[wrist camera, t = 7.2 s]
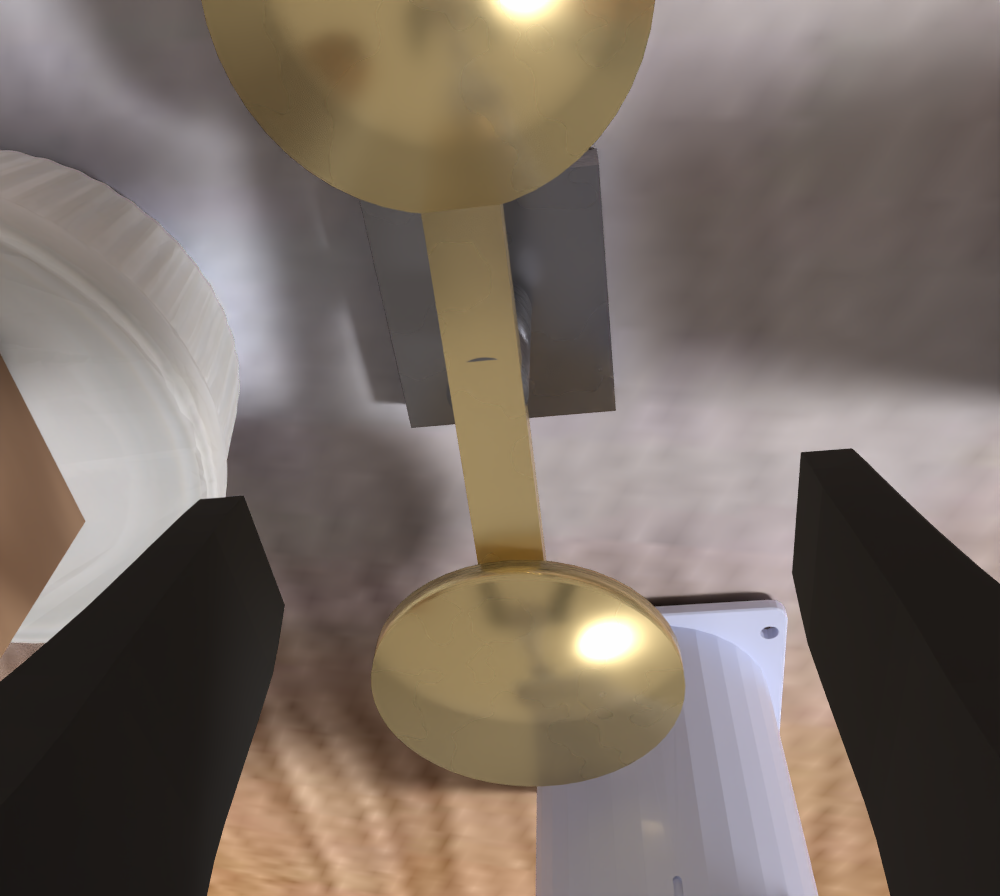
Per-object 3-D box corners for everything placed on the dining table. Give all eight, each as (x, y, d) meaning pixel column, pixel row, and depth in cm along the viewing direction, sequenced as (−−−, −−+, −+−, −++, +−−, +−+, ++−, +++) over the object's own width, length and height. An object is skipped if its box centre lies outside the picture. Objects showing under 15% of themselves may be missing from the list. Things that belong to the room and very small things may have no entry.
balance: (662, 599, 27) (687, 780, 22) (428, 614, 28) (403, 791, 23) (626, -317, 15) (662, -361, 10) (214, -246, 16) (65, -256, 11)
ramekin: (21, -15, 18) (-139, 49, 14) (369, 391, 24) (330, 527, 19) (-282, 265, 22) (-480, 381, 18) (74, 559, 28) (-13, 702, 23)
